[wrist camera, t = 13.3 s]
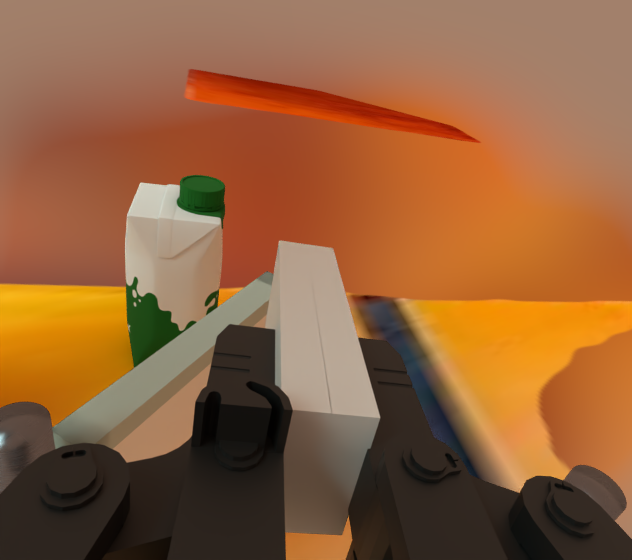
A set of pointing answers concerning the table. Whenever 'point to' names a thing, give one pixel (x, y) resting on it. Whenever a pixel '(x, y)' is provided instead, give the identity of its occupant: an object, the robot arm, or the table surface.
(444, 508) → the robot arm
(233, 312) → the beige framed panel
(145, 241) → the milk carton
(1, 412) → the posts
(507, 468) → the table surface
